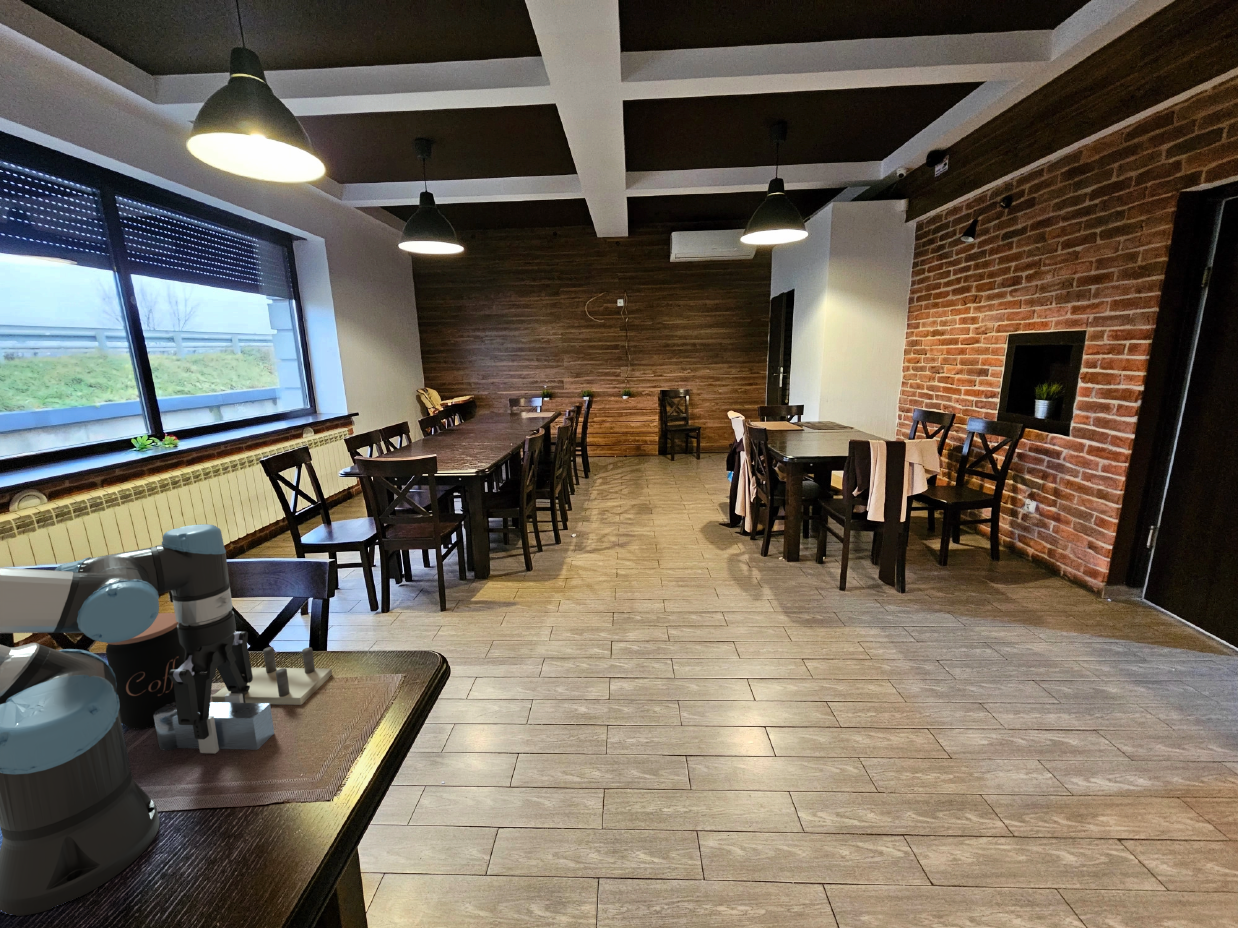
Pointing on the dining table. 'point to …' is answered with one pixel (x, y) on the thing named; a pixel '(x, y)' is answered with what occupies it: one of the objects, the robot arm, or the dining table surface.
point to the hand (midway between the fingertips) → (224, 738)
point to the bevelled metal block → (218, 726)
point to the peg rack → (281, 681)
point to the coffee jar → (146, 671)
